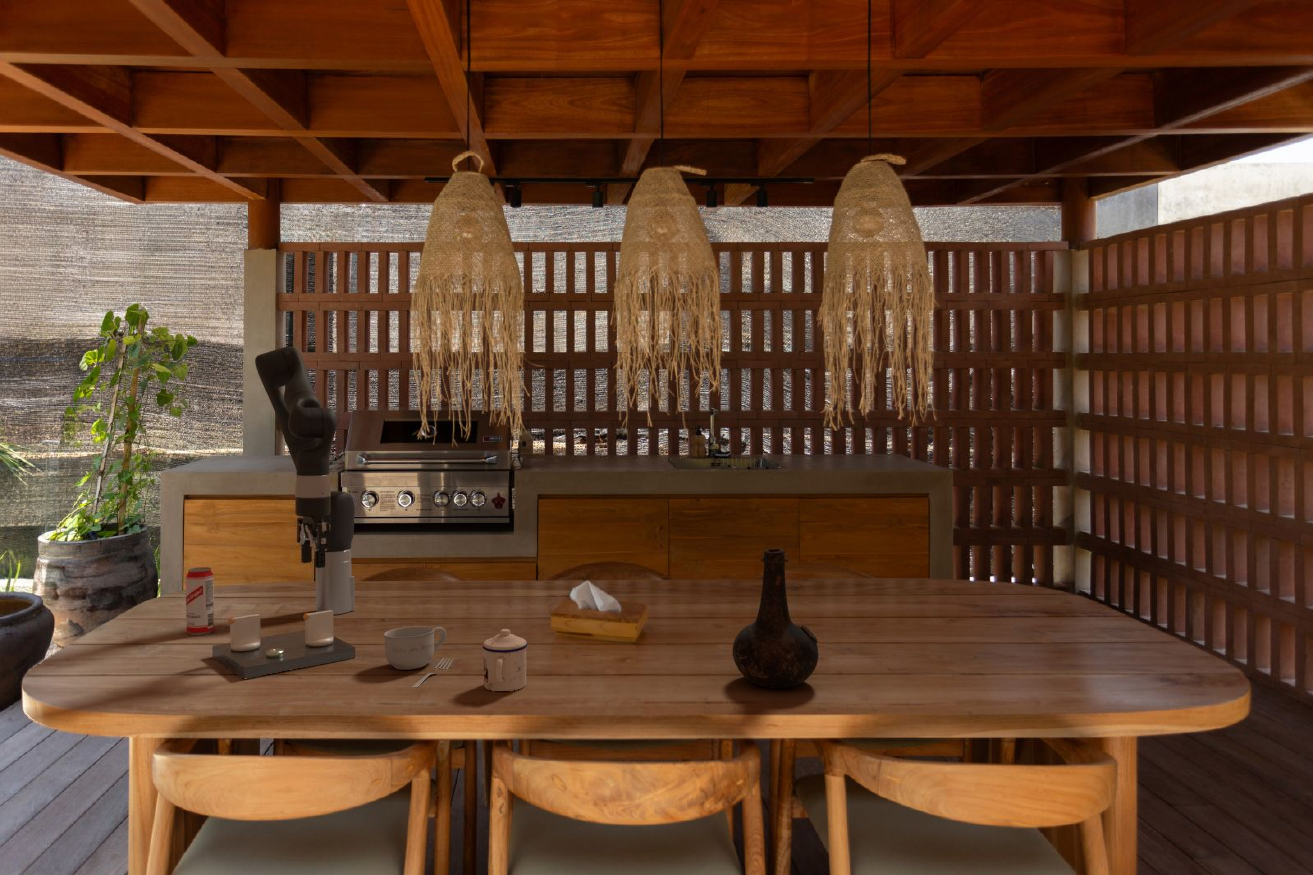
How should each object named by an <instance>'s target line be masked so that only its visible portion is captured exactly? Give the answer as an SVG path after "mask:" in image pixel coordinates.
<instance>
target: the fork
mask: <svg viewBox="0 0 1313 875" xmlns="http://www.w3.org/2000/svg"><path fill="white" fill-rule="evenodd" d="M453 660H454V658H452V659H451V658H450V657H449V658H448V657H446V658H445V657H443V658H442V659H441V660H440V661H439V662H438V664H437V665H436V666H435V667H434V668H436V669H438V668H440V669H442V668H443V669H444V670H445V669H447V670H448V669H449V668H450V666H451V665H452V663H453ZM434 674H435V672H428V673H426V674H425V675H424V676H423V677H422V678H421V679H419V680H418V681H417V682H415V684H413V685H411V687H418V686H419V687H420V686H421V684H422V683H423V682H424V681H425V680H426V679H427V678H429V676H431V675H434ZM419 687H418V688H419Z"/></svg>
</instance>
